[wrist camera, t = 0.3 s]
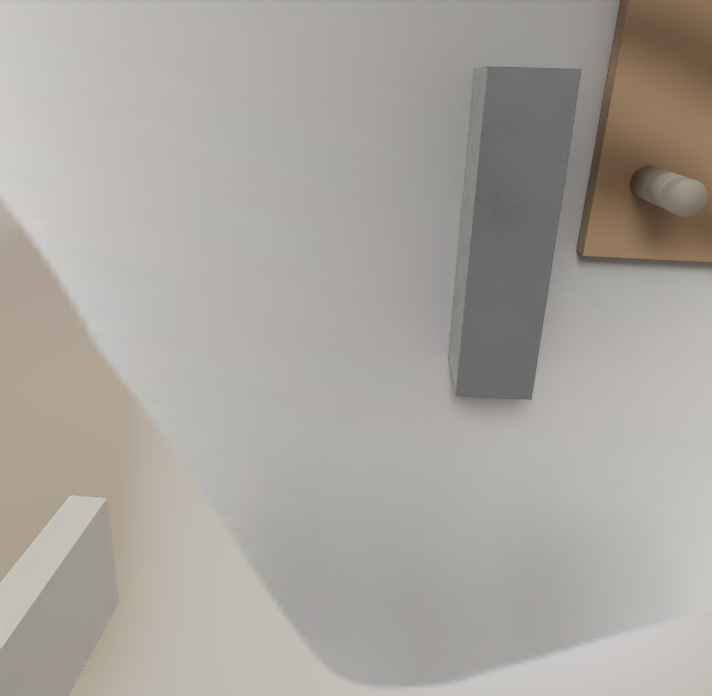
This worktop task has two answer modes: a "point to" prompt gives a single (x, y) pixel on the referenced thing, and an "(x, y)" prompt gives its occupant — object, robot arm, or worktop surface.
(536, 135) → the steel bar
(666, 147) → the peg rack
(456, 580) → the worktop surface
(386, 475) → the worktop surface
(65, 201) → the worktop surface
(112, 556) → the robot arm
